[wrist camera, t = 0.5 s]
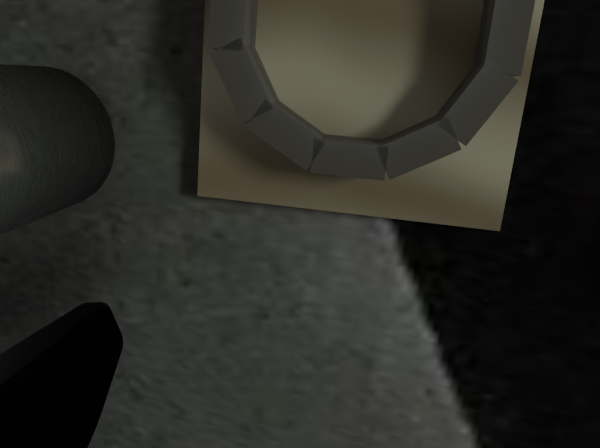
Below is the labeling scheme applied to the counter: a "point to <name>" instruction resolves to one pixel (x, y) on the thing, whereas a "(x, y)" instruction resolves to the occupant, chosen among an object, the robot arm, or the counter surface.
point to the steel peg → (49, 143)
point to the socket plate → (366, 105)
